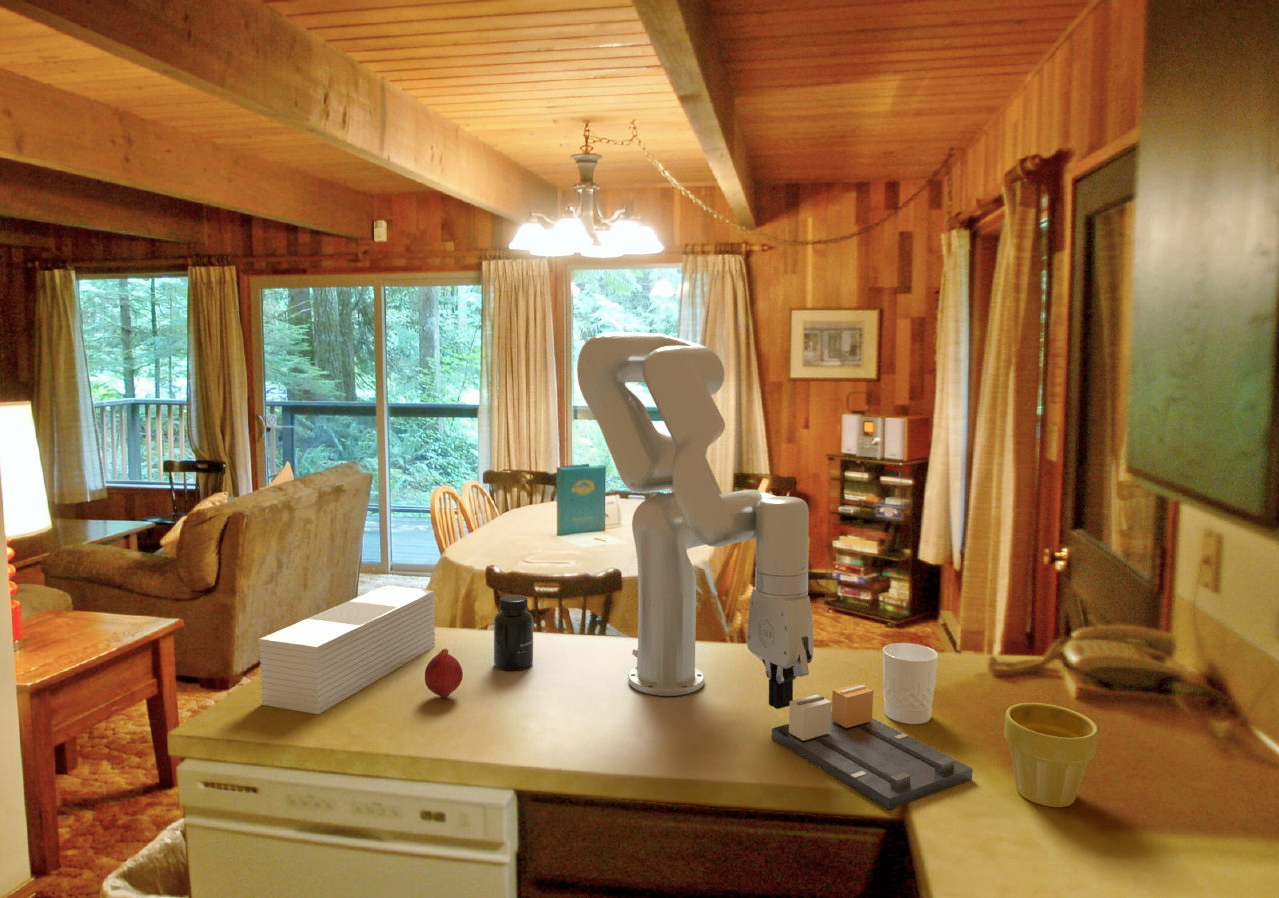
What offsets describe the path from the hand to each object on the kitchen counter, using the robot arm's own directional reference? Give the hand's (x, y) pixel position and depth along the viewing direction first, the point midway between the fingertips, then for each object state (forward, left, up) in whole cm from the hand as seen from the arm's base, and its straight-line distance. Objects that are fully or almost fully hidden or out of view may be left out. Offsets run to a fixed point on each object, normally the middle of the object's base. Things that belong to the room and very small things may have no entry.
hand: (780, 705), depth 124 cm
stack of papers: (-52, -49, -4) cm, 72 cm away
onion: (-35, -40, -4) cm, 53 cm away
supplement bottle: (-43, -25, -4) cm, 49 cm away
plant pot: (+31, +16, -4) cm, 36 cm away
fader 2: (+6, +8, -2) cm, 10 cm away
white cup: (+6, +19, -4) cm, 21 cm away
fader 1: (+6, 0, -2) cm, 7 cm away
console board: (+13, +4, -3) cm, 14 cm away
